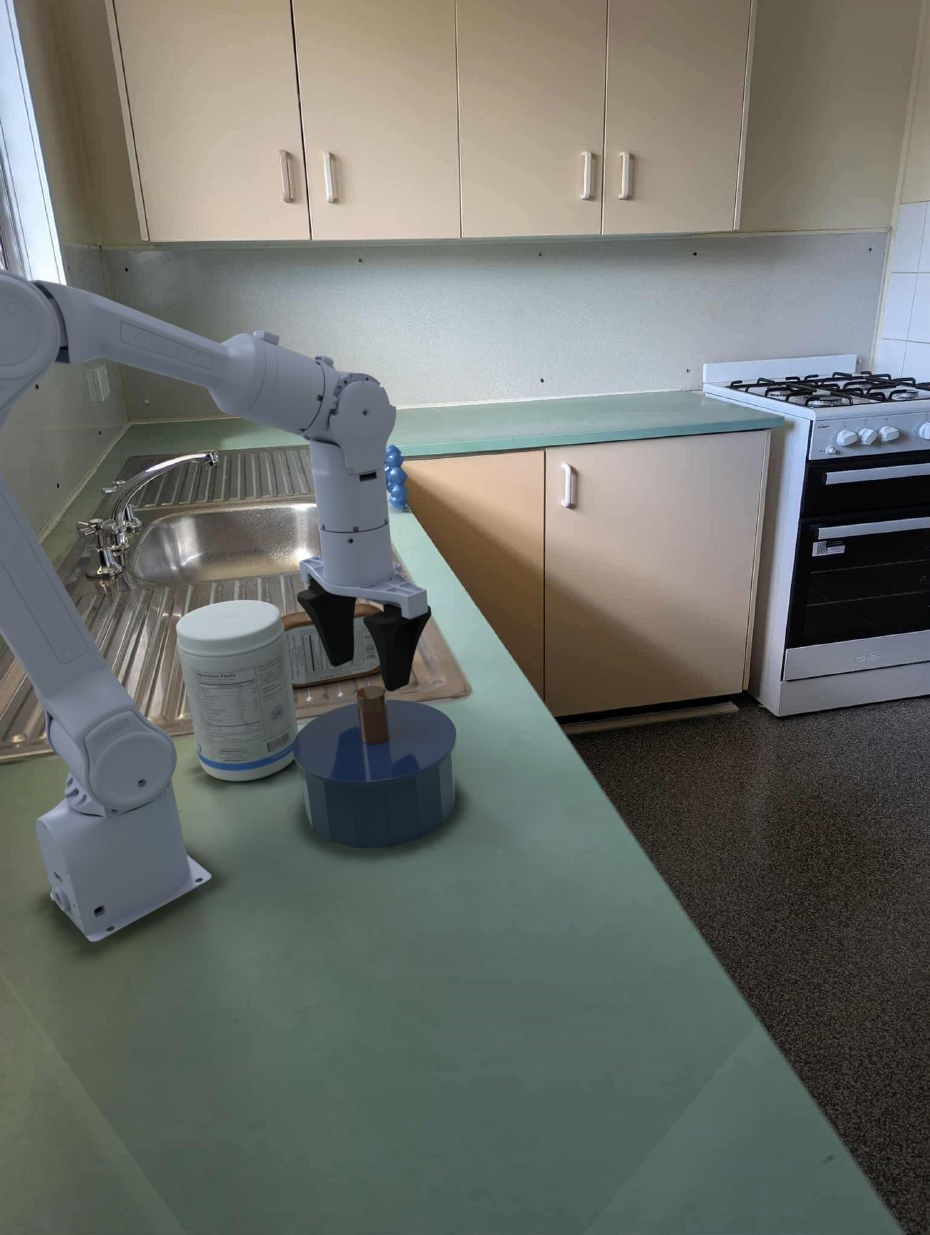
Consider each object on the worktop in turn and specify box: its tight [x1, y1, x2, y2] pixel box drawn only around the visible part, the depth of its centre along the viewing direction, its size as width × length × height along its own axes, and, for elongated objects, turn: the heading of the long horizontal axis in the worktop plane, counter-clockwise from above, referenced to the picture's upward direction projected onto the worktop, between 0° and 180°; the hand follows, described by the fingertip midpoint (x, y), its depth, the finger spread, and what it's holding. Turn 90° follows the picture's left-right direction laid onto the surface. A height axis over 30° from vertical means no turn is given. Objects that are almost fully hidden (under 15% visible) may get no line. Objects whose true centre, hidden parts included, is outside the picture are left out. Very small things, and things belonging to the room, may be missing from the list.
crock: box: [299, 751, 456, 849], centre depth 74 cm, size 13×13×6 cm
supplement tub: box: [175, 599, 299, 782], centre depth 81 cm, size 10×10×15 cm
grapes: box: [384, 444, 410, 511], centre depth 168 cm, size 12×7×12 cm, turn 13°
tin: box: [281, 602, 383, 688], centre depth 98 cm, size 15×3×8 cm, turn 109°
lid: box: [293, 685, 458, 787], centre depth 72 cm, size 14×14×5 cm
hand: (369, 674), depth 76 cm, fingers open, 7 cm apart
